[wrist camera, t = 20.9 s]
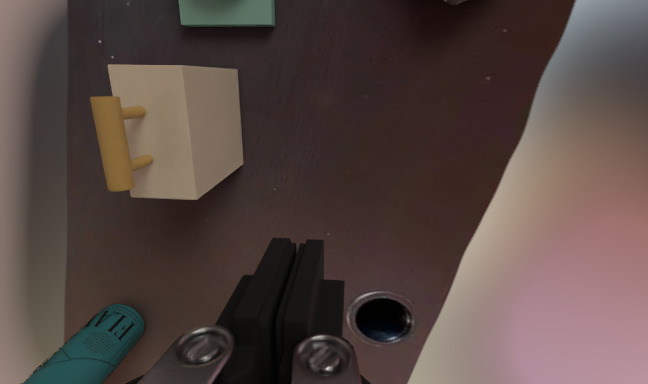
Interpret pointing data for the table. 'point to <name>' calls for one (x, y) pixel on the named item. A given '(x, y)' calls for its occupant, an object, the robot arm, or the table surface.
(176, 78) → the clock
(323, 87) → the table surface
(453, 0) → the black sponge
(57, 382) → the beverage bottle
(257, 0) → the switch box
